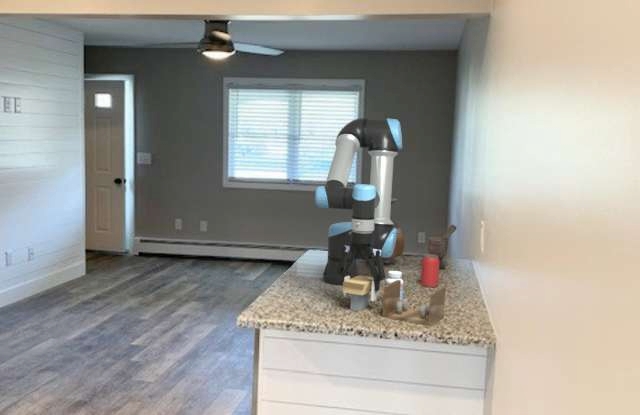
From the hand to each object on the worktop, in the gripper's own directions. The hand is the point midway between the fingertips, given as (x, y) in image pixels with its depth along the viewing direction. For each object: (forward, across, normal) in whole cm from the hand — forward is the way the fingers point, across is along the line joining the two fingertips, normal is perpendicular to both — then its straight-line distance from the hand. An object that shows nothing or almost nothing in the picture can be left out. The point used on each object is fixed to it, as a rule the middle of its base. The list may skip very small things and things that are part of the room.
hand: (360, 297), depth 201 cm
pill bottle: (+4, +8, +11) cm, 14 cm away
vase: (+4, -23, +71) cm, 75 cm away
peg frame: (+3, +19, 0) cm, 19 cm away
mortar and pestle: (+4, +1, +81) cm, 81 cm away
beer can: (+4, +9, +44) cm, 45 cm away
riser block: (+3, 0, 0) cm, 3 cm away
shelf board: (-3, 0, 0) cm, 3 cm away
